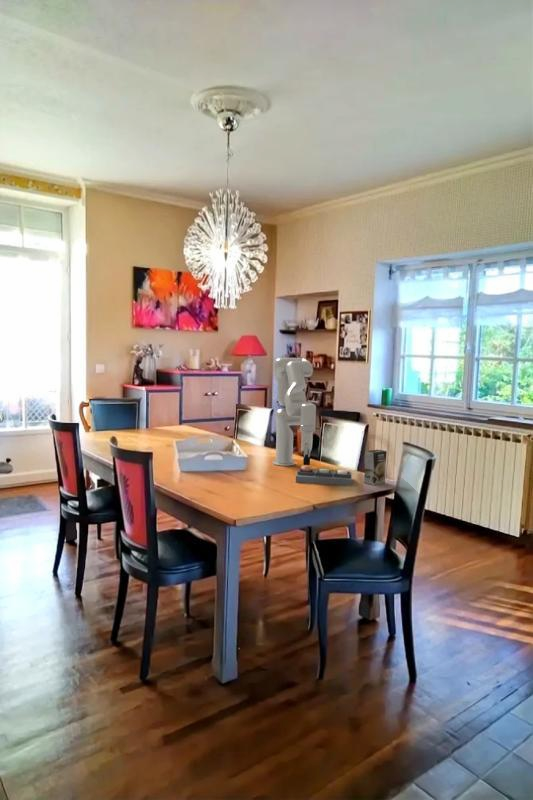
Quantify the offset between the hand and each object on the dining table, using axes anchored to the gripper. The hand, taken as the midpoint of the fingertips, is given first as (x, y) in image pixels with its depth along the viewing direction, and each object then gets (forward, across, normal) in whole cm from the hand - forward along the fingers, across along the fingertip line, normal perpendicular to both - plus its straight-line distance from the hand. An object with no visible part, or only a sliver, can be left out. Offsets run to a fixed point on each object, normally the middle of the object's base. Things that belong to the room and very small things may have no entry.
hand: (306, 464), depth 266 cm
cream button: (+4, 0, +18) cm, 18 cm away
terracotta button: (+3, 0, 0) cm, 3 cm away
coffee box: (+8, -2, +34) cm, 35 cm away
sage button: (+4, 0, +9) cm, 10 cm away
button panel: (+8, 0, +9) cm, 12 cm away
